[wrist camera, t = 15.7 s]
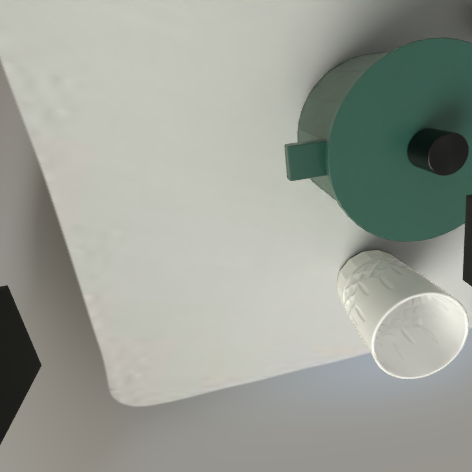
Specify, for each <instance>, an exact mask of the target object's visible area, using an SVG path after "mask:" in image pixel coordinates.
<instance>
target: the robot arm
mask: <svg viewBox="0 0 472 472" xmlns="http://www.w3.org/2000/svg"><path fill="white" fill-rule="evenodd" d="M463 280H464V281H465V282H466V283H468V284H469V285H471V286H472V194H471V195H466V214H465V238H464V263H463ZM40 367H41V363H40V361H39V358H38V356H37V354H36V351H35V349H34V347H33V344H32V342H31V340H30V337H29V335H28V332H27V330H26V328H25V325H24V323H23V321H22V318H21V316H20V313H19V311H18V309H17V307H16V304H15V302H14V299H13V297H12V295H11V292H10V290H9V288H8V286H1V287H0V444H1V442H2V440H3V438H4V437H5V435H6V433H7V431H8V429H9V427H10V425H11V423H12V421H13V419H14V417H15V415H16V413H17V412H18V409H19V408H20V406H21V404H22V402H23V400H24V398H25V396H26V394H27V392H28V390H29V389H30V387H31V384H32V383H33V381H34V379H35V377H36V375H37V373H38V371H39V369H40Z"/></svg>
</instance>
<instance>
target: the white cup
mask: <svg viewBox="0 0 472 472" xmlns="http://www.w3.org/2000/svg"><path fill="white" fill-rule="evenodd" d="M336 286H337V291H338V295H339V298H340V300H341V302H342V303H343V305H344V306H345V308H346V311H347V313H348V315H349V317H350V319H351V320H352V322H353V324H354V326H355V328H356V330H357V331H358V333H359V335H360V336H361V338H362V340H363V341H364V343H365V345H366V346H367V348H368V350H369V351H370V353H371V355H372V356H373V357H374V360H375V361H376V363H377V364H378V366H379V367H380V368H381V369H382V370H383V371H385V372H386V373H388V374H390V375H392V376H394V377H398V378H404V379H414V378H420V377H425V376H428V375H431V374H433V373H435V372H437V371H439V370H441V369H442V368H444V367H445V366H446V365H448V364H449V363H450V362H451V361H452V360H453V359H454V358H455V357H456V356H457V355H458V353H459V352H460V351H461V349H462V348H463V346H464V344H465V342H466V339H467V336H468V331H469V320H468V316H467V313H466V311H465V309H464V307H463V306H462V304H461V303H460V302H459V301H458V300H456V299H455V298H453V297H452V296H451V295H449V294H448V293H446V292H445V291H444V290H442V289H441V288H439V287H438V286H437V285H435V284H434V283H432V282H431V281H430V280H428V279H427V278H425V277H424V276H423V275H421V274H420V273H418V272H417V271H415V270H414V269H412V268H411V267H409V266H408V265H406V264H404V263H403V262H401V261H399V260H398V259H397V258H395V257H394V256H393V255H391V254H388V253H385V252H383V251H380V250H373V251H363V252H361V253H359V254H358V255H356V256H354V257H352V258H350V259H349V260H348V261H347V263H346V264H345V265H344V266H343V268H342V269H341V270H340V272H339V276H338V280H337V283H336Z"/></svg>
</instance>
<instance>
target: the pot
mask: <svg viewBox="0 0 472 472" xmlns="http://www.w3.org/2000/svg"><path fill="white" fill-rule="evenodd" d="M386 53H387V52H383V53H377V54H370V55H364V56H357V57H354V58H352V59H350V60H348V61H346V62H344V63H342V64H340V65H338V66H337V67H335V68H334V69H332V70H331V71H329V72H328V73H327V74H326V75H325V76H324V77H323V78H322V79H321V80H320V81H319V82H318V83H317V84H316V86H315V87H314V88H313V90H312V91H311V93H310V94H309V96H308V98H307V100H306V102H305V104H304V107H303V109H302V112H301V115H300V119H299V124H298V143H291V144H285V157H286V169H287V178H288V179H289V180H290V181H294V180H301V179H307V178H311V180H312V182H314V183H315V184H316V185H317V186H319V187H320V188H321V189H322V190H324V191H325V192H326V193H327V194H329V195H330V196H331V197H332V198H334V199H335V197H334V195H333V192H332V190H331V187H330V184H329V180H328V176H327V170H326V143H327V136H328V132H329V128H330V124H331V121H332V118H333V116H334V113H335V111H336V108H337V106H338V104H339V103H340V101H341V99H342V97H343V95H344V94H345V92H346V91H347V89H348V88H349V87H350V85H351V84H352V82H353V81H354V80H355V79H356V78H357V77H358V76H359V75H360V74H361V72H362V71H363V70H365V69H366V68H367V67H368V66H369V65H370V64H371V63H373V62H374V61H375V60H377V59H378V58H380V57H381V56H383V55H384V54H386ZM335 200H336V199H335ZM336 201H337V200H336Z"/></svg>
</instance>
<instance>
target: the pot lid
mask: <svg viewBox="0 0 472 472" xmlns="http://www.w3.org/2000/svg"><path fill="white" fill-rule="evenodd" d="M326 170H327V176H328V180H329V184H330V187H331V190H332V192H333V195H334V197H335V199H336V200H337V202H338V204H339V206H340V207H341V208H342V210H343V211H344V212H345V213H346V215H347V216H348V217H349V218H350V219H352V220H353V221H354V222H355V223H356V224H357V225H358V226H360V227H361V228H363V229H364V230H366V231H367V232H370V233H372V234H374V235H376V236H378V237H382V238H385V239H388V240H394V241H409V242H410V241H420V240H426V239H430V238H434V237H437V236H440V235H443V234H445V233H447V232H449V231H451V230H454V229H456V228H457V227H459V226H460V225H462V224H464V223H465V214H466V195H471V194H472V44H471V43H469V42H465V41H462V40H458V39H450V38H431V39H425V40H420V41H415V42H411V43H408V44H405V45H402V46H400V47H397V48H395V49H393V50H391V51H389V52H387V53H386V54H384V55H383V56H381V57H380V58H378V59H377V60H375V61H374V62H373V63H371V64H370V65H369V66H368V67H367V68H366V69H365V70H363V71H362V72H361V74H360V75H359V76H358V77H357V78H356V79H355V80H354V81H353V82H352V84H351V85H350V87H349V88H348V89H347V91H346V92H345V94H344V95H343V97H342V99H341V101H340V103H339V104H338V106H337V108H336V111H335V113H334V116H333V118H332V121H331V124H330V128H329V132H328V136H327V143H326Z"/></svg>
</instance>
